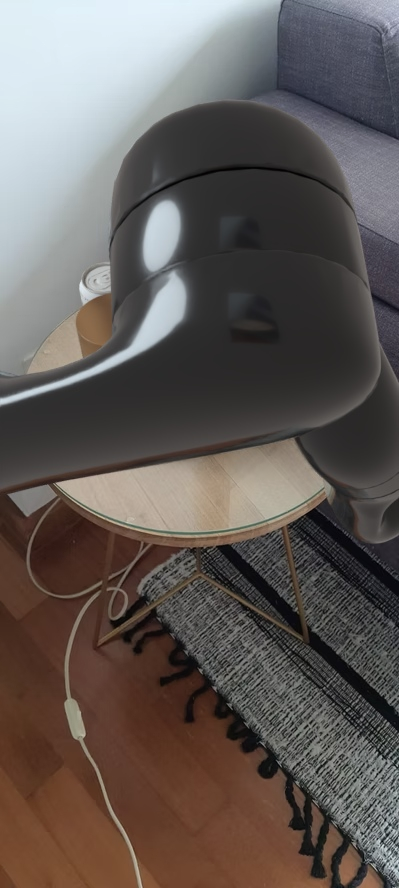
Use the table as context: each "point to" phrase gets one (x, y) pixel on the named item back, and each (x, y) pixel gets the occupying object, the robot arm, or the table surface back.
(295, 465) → the table surface
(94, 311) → the stand
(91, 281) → the beer can
